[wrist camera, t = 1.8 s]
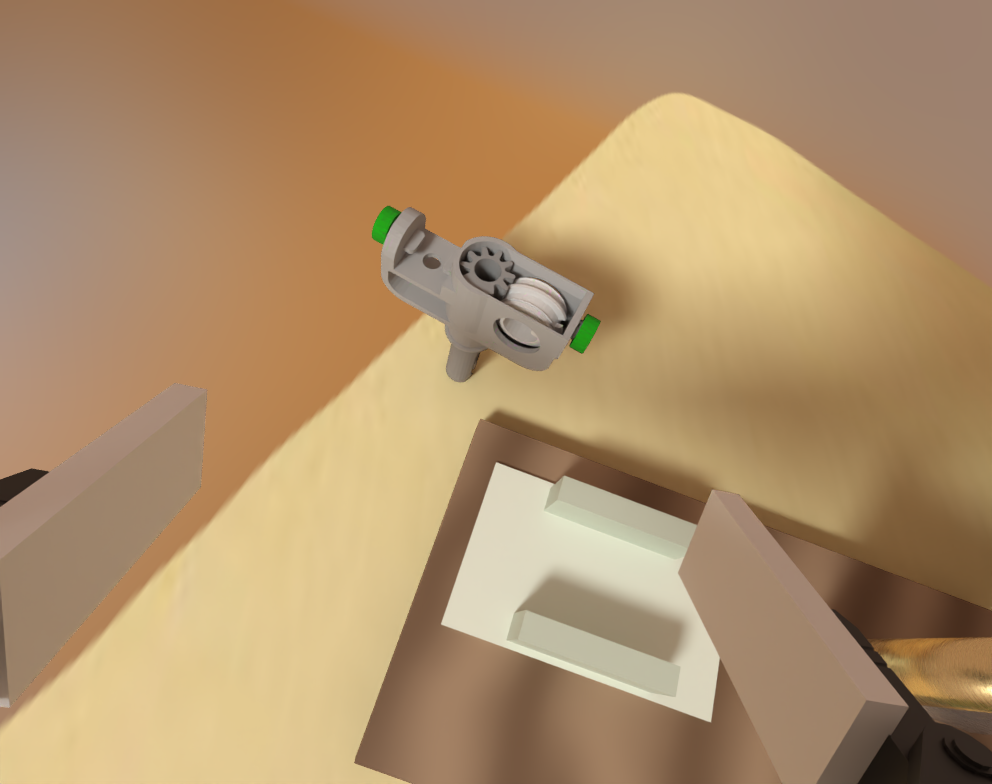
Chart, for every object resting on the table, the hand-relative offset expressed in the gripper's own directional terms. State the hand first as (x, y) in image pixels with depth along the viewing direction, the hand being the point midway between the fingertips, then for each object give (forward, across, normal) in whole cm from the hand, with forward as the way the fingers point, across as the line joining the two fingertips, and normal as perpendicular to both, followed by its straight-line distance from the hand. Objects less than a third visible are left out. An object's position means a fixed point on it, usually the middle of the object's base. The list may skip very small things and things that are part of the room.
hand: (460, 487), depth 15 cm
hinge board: (+8, +15, -13) cm, 21 cm away
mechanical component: (+18, 0, -3) cm, 19 cm away
